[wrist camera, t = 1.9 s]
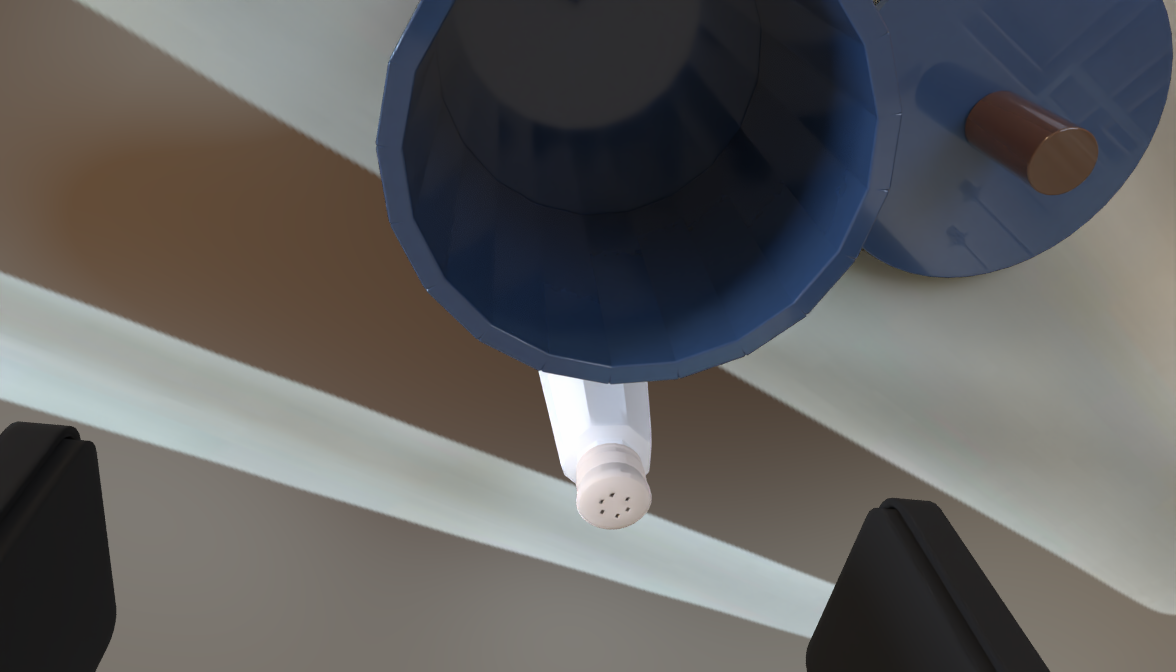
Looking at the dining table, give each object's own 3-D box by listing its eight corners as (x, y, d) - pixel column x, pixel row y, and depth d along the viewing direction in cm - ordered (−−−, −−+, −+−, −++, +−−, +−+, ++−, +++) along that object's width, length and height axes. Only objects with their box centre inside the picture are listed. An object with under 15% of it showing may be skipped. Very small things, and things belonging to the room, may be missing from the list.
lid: (1154, -140, 31) (1287, -134, 26) (1153, 201, 38) (1256, 260, 33) (778, 8, 33) (830, 43, 27) (846, 308, 40) (898, 381, 35)
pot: (721, -210, 29) (848, -233, 18) (806, 155, 36) (932, 292, 25) (355, -53, 30) (272, 11, 20) (506, 266, 37) (506, 440, 27)
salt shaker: (516, 374, 41) (518, 538, 31) (560, 282, 38) (577, 429, 29) (616, 406, 42) (647, 572, 33) (664, 320, 40) (713, 471, 30)
